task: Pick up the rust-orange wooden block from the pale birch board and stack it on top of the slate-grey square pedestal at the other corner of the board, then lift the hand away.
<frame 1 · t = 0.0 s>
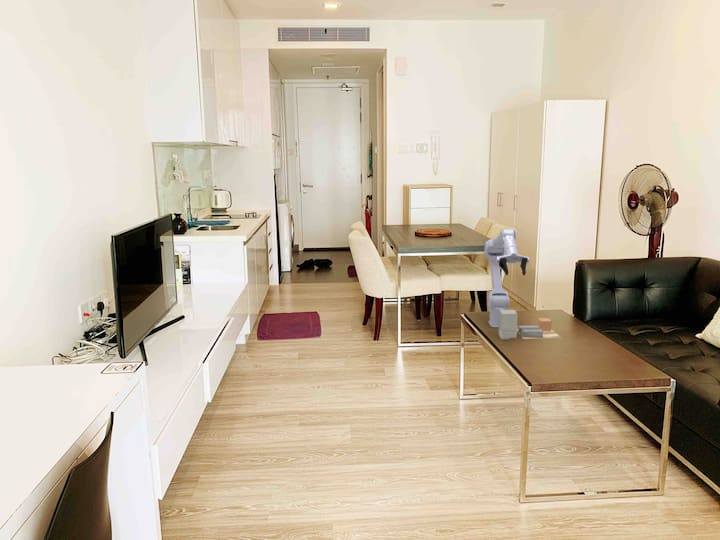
hand: (515, 274, 247), 32 cm above the table, tool tilted 50°, fingers open, 7 cm apart
base board: (536, 334, 265), on the table
block: (544, 329, 269), point 1 cm above the table, touching base board
supplement box: (507, 337, 261), on the table
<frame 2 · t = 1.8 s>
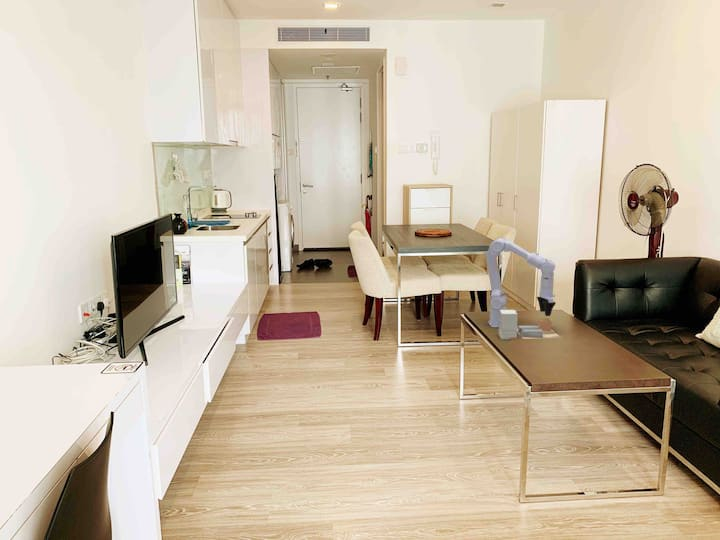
hand: (545, 313, 268), 9 cm above the table, tool pointing down, fingers open, 7 cm apart
nothing on the table moved.
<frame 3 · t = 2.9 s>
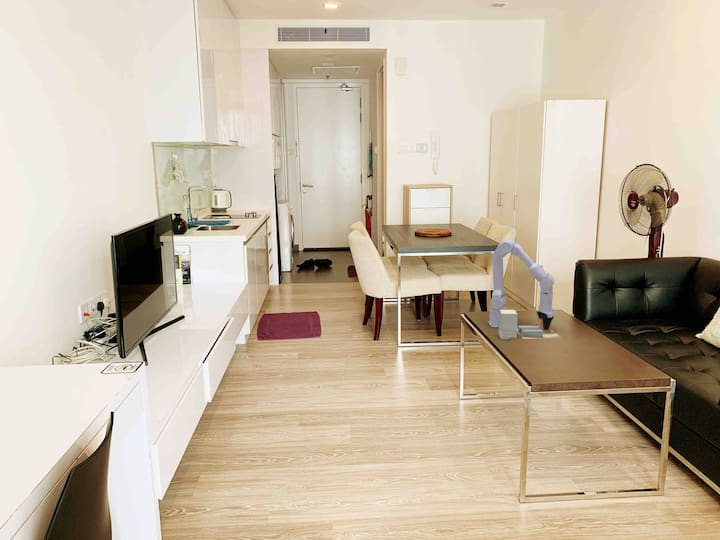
hand: (544, 327, 269), 2 cm above the table, tool pointing down, fingers closed on block, 5 cm apart
block: (544, 329, 269), point 1 cm above the table, touching base board, gripper
everything else where it was.
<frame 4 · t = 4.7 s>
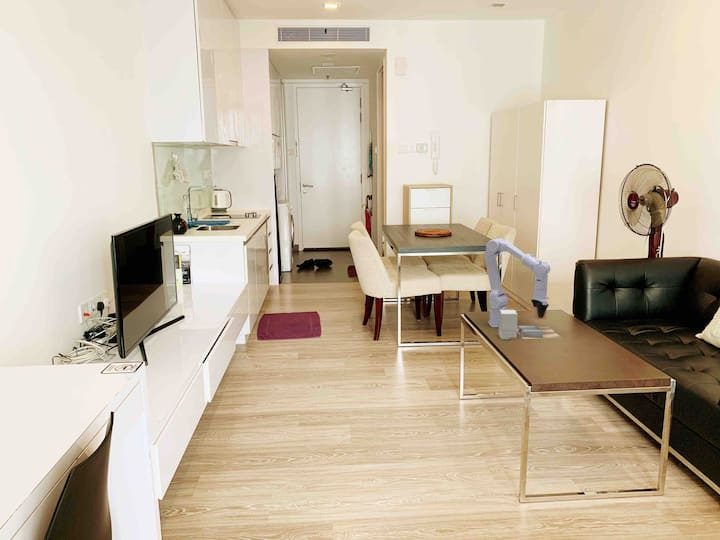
hand: (538, 316, 265), 9 cm above the table, tool pointing down, fingers closed on block, 5 cm apart
block: (538, 317, 265), point 8 cm above the table, touching gripper
everything else where it was.
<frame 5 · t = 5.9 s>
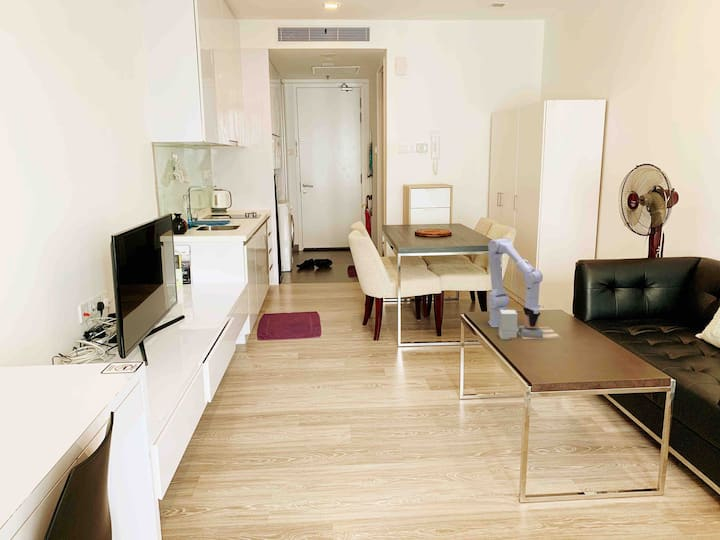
hand: (530, 324, 261), 6 cm above the table, tool pointing down, fingers closed on block, 5 cm apart
block: (530, 326, 261), point 5 cm above the table, touching gripper
everything else where it was.
when the fingers open (6 cm above the table, at t = 6.5 s): block stays where it is, resting on base board.
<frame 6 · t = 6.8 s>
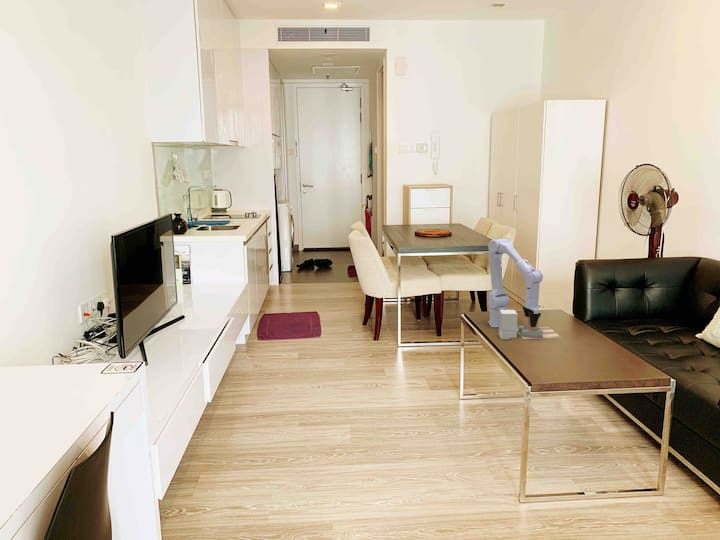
hand: (530, 324, 261), 6 cm above the table, tool pointing down, fingers open, 7 cm apart
block: (530, 328, 262), point 4 cm above the table, touching base board
everything else where it was.
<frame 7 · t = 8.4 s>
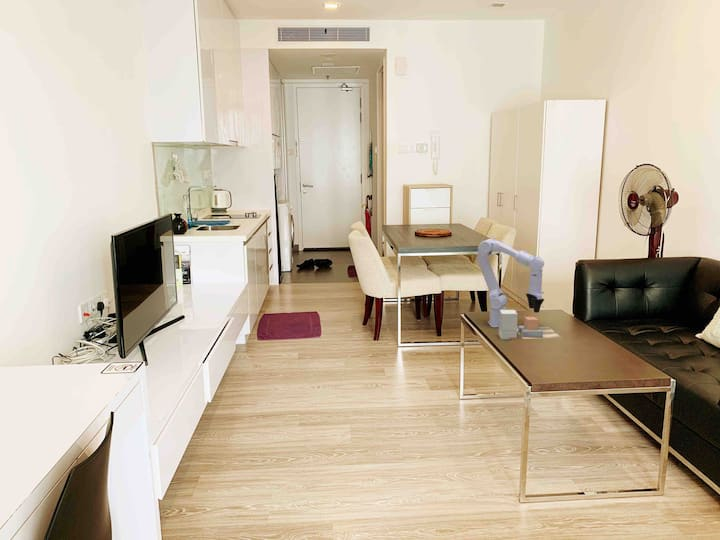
hand: (533, 310, 269), 10 cm above the table, tool pointing down, fingers open, 7 cm apart
nothing on the table moved.
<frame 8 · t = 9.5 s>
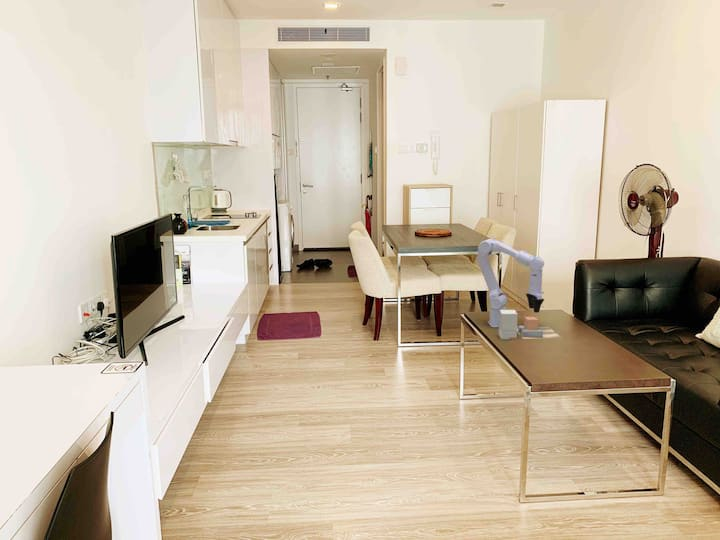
hand: (533, 310, 269), 10 cm above the table, tool pointing down, fingers open, 7 cm apart
nothing on the table moved.
at the end: block inside the target area (0.1 cm from its centre), point 4.0 cm above the table; block tilted 0°; the gripper is holding nothing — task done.
